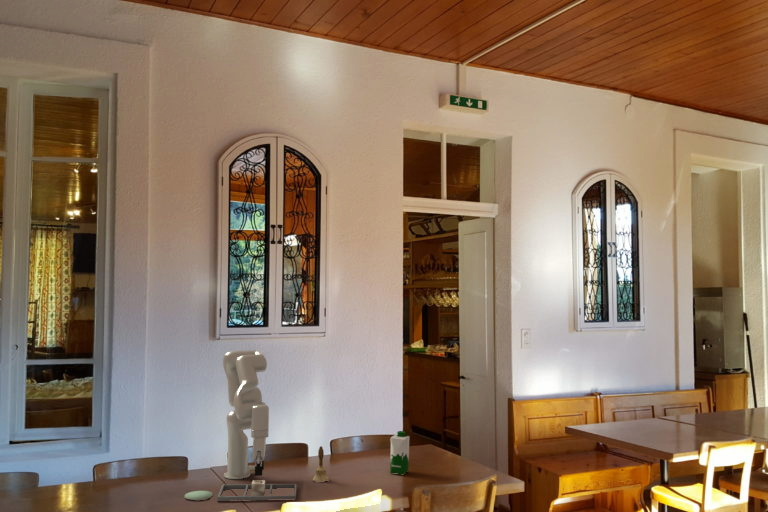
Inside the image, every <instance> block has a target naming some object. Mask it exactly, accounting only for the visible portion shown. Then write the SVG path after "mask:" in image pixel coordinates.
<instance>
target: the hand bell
mask: <svg viewBox="0 0 768 512" xmlns="http://www.w3.org/2000/svg"><path fill="white" fill-rule="evenodd" d="M324 455H325V454H324V449H323V446H319V448H318V455H317V456H318V460H319V463H318V464H319V466H318V468H316V470H315V475H314V476H313V478H312V479H313V480H315V481H325V480H329V479H330V478H329V477H328V474H327V471H326V470H327V469H326V468H325V467H324V465H323V460H324V459H323V458H324ZM329 481H330V480H329Z"/></svg>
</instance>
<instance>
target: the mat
mask: <svg viewBox="0 0 768 512" xmlns="http://www.w3.org/2000/svg"><path fill="white" fill-rule="evenodd" d="M211 496H212V497H214V493H213V492H212V491H208V490H195V491H189V492H187V493H185V494H184V499H185V498H187V499H193V500H199V499H206V498H209V497H211ZM212 497H211V498H212Z"/></svg>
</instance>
